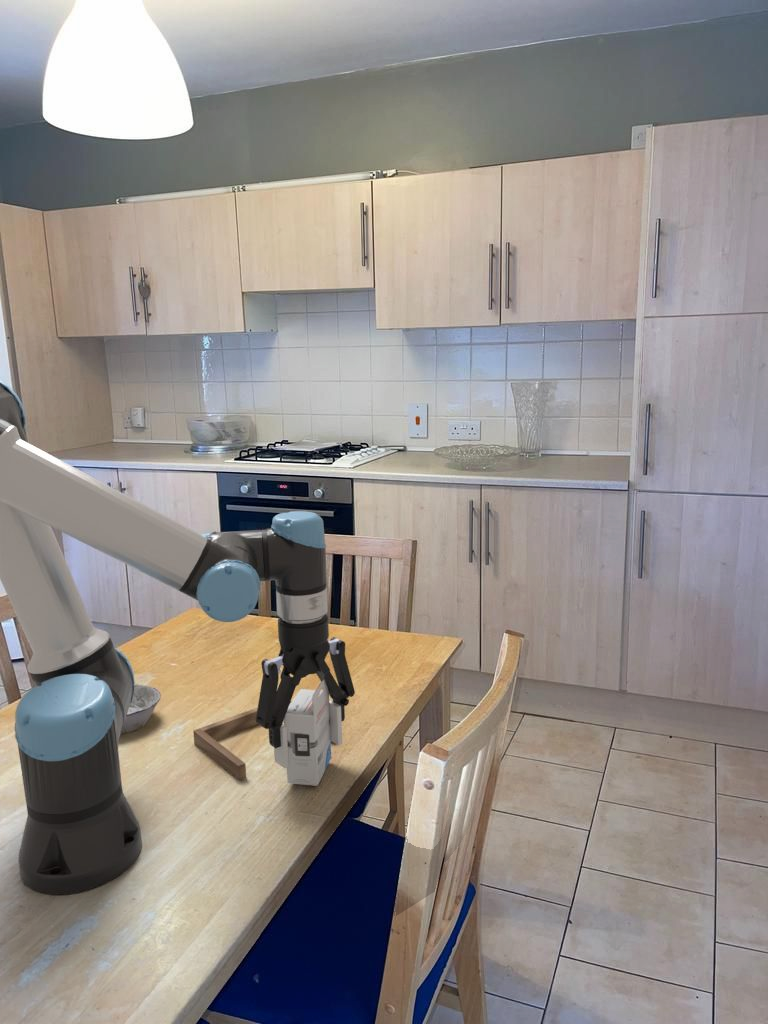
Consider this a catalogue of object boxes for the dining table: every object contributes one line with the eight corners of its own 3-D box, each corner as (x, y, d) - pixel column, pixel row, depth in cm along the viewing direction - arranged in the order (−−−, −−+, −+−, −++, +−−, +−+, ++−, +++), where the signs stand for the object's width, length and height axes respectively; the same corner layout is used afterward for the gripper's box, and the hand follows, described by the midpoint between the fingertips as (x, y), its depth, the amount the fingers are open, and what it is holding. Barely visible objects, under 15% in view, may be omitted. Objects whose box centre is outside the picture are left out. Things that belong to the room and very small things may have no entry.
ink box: (303, 755, 126) (299, 670, 123) (332, 757, 125) (329, 672, 122) (286, 784, 118) (281, 693, 115) (317, 787, 117) (313, 696, 114)
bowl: (70, 731, 138) (67, 705, 137) (125, 701, 149) (123, 678, 148) (123, 747, 132) (120, 721, 130) (176, 715, 142) (174, 691, 141)
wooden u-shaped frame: (239, 780, 120) (238, 766, 120) (194, 744, 132) (193, 730, 131) (335, 740, 132) (334, 726, 131) (286, 709, 143) (285, 697, 143)
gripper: (251, 641, 106) (260, 789, 111) (375, 604, 120) (379, 737, 125) (224, 627, 112) (234, 768, 117) (346, 593, 126) (350, 721, 131)
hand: (309, 752), depth 121 cm, fingers closed on ink box, 9 cm apart
